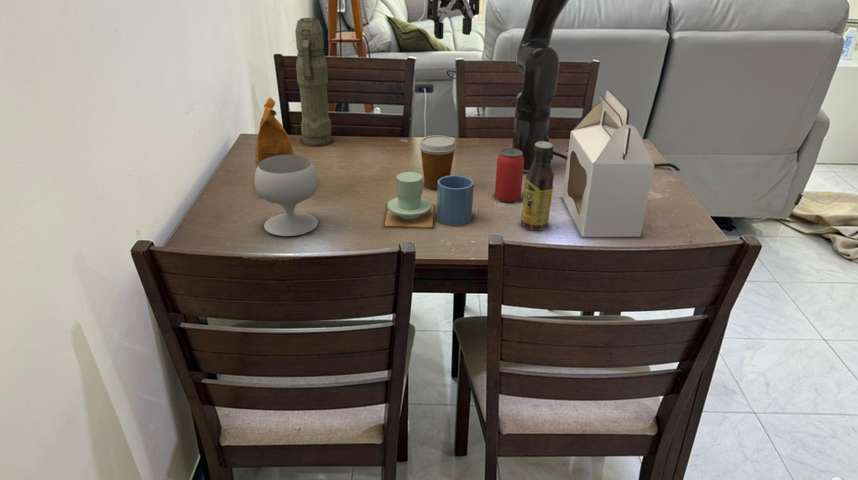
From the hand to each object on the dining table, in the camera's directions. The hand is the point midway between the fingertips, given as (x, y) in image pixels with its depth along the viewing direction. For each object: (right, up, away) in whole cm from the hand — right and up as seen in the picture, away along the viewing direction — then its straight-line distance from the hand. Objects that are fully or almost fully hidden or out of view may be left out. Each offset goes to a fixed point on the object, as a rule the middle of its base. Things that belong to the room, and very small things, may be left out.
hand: (452, 36), depth 162 cm
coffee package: (-45, -35, +11) cm, 58 cm away
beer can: (+14, -38, +7) cm, 41 cm away
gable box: (+35, -44, -2) cm, 56 cm away
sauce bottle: (+19, -47, -7) cm, 51 cm away
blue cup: (0, -44, -3) cm, 44 cm away
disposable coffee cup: (-4, -34, +14) cm, 37 cm away
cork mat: (-10, -44, -3) cm, 45 cm away
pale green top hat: (-10, -43, -3) cm, 45 cm away
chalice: (-38, -47, -8) cm, 60 cm away
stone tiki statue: (-39, -17, +42) cm, 60 cm away
